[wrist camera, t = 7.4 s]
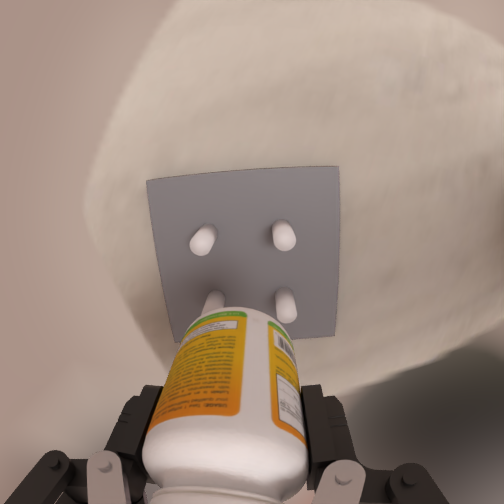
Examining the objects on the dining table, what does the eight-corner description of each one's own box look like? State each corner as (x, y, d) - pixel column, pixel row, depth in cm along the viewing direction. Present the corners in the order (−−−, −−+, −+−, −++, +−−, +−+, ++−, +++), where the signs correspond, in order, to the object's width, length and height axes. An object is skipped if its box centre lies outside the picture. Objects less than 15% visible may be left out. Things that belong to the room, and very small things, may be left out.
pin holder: (335, 166, 24) (351, 168, 19) (332, 329, 28) (342, 357, 24) (151, 179, 24) (129, 185, 20) (177, 335, 29) (165, 363, 25)
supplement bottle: (172, 369, 14) (116, 534, 5) (201, 285, 13) (118, 498, 3) (266, 399, 15) (267, 563, 6) (312, 325, 13) (361, 530, 4)
